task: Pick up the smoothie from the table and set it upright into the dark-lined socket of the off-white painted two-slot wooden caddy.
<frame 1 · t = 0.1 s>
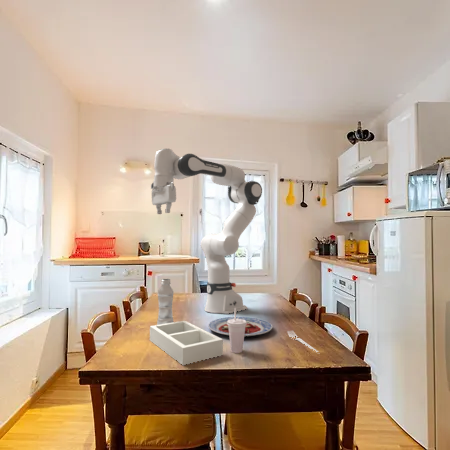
hand: (163, 213, 143), 48 cm above the table, tool pointing down, fingers open, 8 cm apart
fork: (303, 345, 110), on the table
ceramic plate: (240, 331, 125), on the table
caddy: (183, 347, 105), on the table
plastic bottle: (165, 329, 125), on the table
smoothie: (236, 351, 102), on the table
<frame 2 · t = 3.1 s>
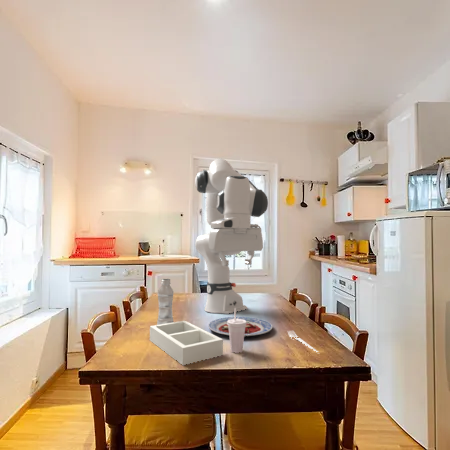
hand: (237, 265, 103), 28 cm above the table, tool pointing down, fingers open, 8 cm apart
nothing on the table moved.
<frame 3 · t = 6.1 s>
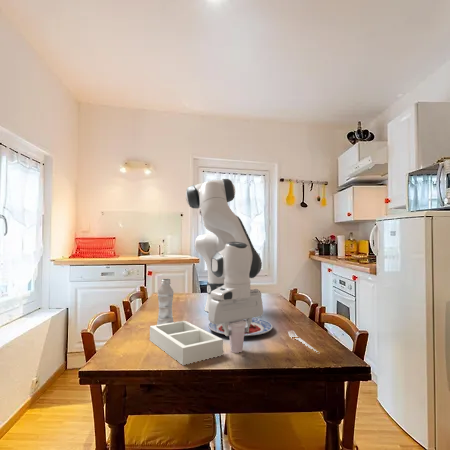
hand: (236, 333, 102), 6 cm above the table, tool pointing down, fingers closed on smoothie, 6 cm apart
smoothie: (236, 351, 102), on the table, touching gripper
everything else where it was.
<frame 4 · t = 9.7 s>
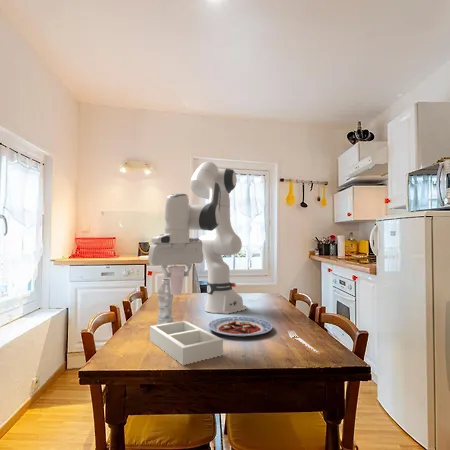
hand: (176, 276, 111), 23 cm above the table, tool pointing down, fingers closed on smoothie, 6 cm apart
smoothie: (176, 294, 111), point 17 cm above the table, touching gripper
everything else where it was.
when the fingers open (7 cm above the table, at t = 13.5 s): smoothie stays where it is, resting on caddy.
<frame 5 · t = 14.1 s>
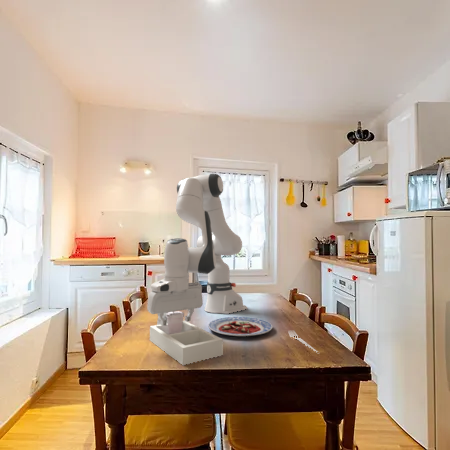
hand: (176, 323, 111), 7 cm above the table, tool pointing down, fingers open, 8 cm apart
smoothie: (175, 341, 111), resting on caddy
everything else where it was.
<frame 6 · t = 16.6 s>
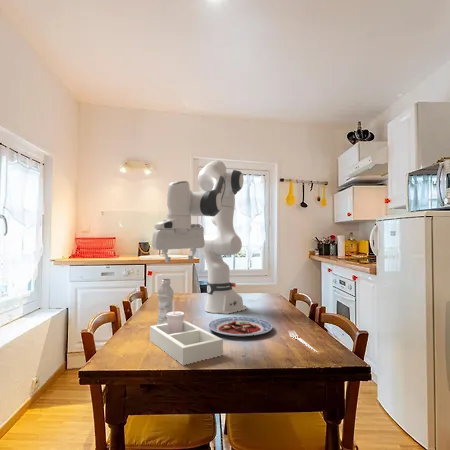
hand: (179, 261, 116), 28 cm above the table, tool pointing down, fingers open, 8 cm apart
nothing on the table moved.
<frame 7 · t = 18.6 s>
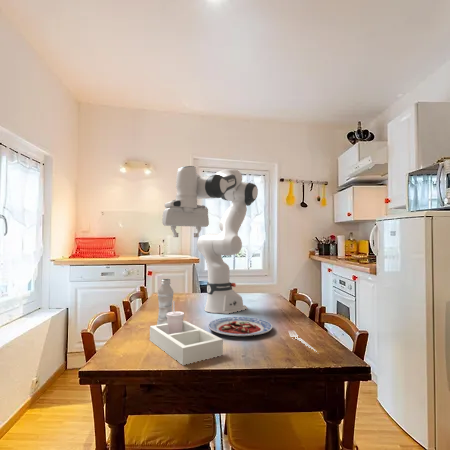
hand: (186, 237, 130), 37 cm above the table, tool pointing down, fingers open, 8 cm apart
nothing on the table moved.
at the end: smoothie 0.5 cm from the target spot on the caddy, point 0.1 cm above the caddy's base; smoothie tilted 0°; the gripper is holding nothing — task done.
